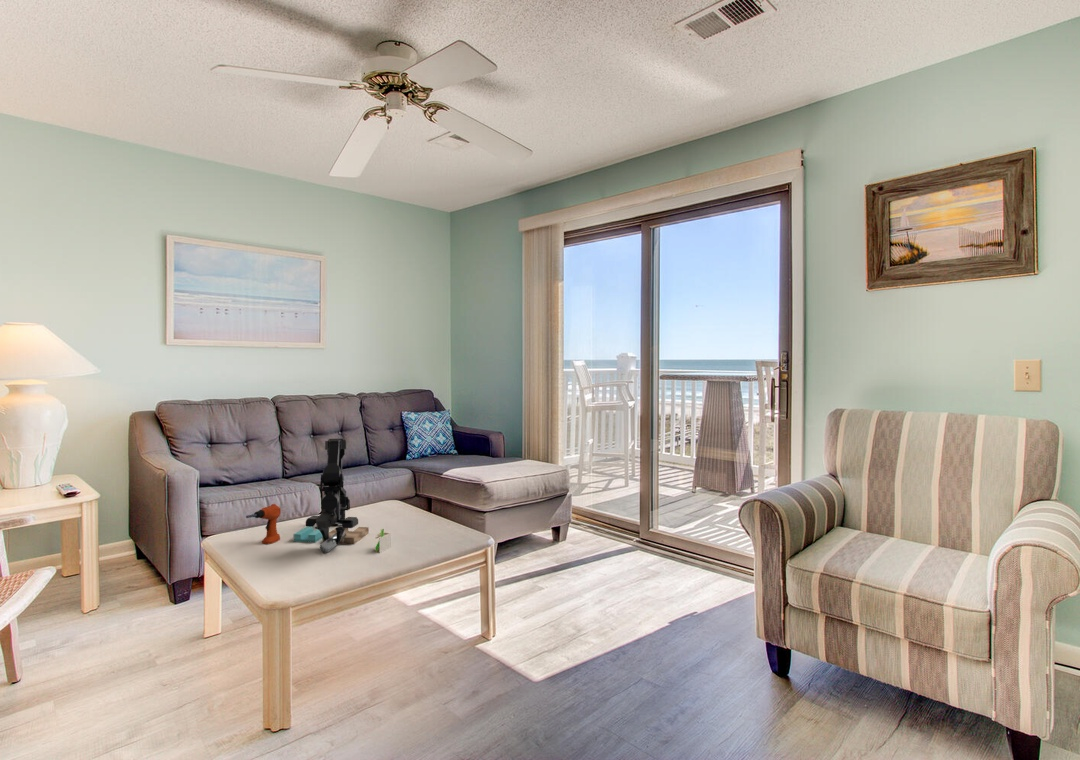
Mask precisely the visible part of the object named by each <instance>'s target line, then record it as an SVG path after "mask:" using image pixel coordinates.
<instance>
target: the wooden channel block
mask: <svg viewBox="0 0 1080 760" xmlns="http://www.w3.org/2000/svg"><path fill="white" fill-rule="evenodd" d="M369 529H370V528H369V526H359V527H357V528H355V529H354V530H353V531H351V530H350V531H349V528H345V530H344V531H345V532H346V537H344V539H343V540H342V541H341V542H340V543H339V544H341V545H342V544H343V545H355V544H356V543H358V542H359V541H360V540H362V539H363V538H364V537H366V536H367V535H368V534H370V533H369ZM336 532H337V531H336V529H335V528H334V529H332V530H331V531H329V538H330V537H331V536H332V535H333V534H335V533H336ZM323 542H324V538H322V543H323ZM339 544H338V545H339Z"/></svg>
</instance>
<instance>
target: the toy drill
mask: <svg viewBox="0 0 1080 760" xmlns="http://www.w3.org/2000/svg"><path fill="white" fill-rule="evenodd" d="M281 511H282V509H281V507H280V506H279V505H277V504H276V503H273V504H271V505H268V506H264V507H263V508H261V509H259V510H257V511H255V512H254V513H252V514H247V515H246V516H245V518H246V519H249V518H255V519H263V520H267V522H266V526H265V530H266V533H265V534H266V535H265V537H263V539H262V540H261V544H263V545H271V544H274V543H277V542H278V541H280V540H281V536H280V533H278V530H277V521H278V520H277V519H279V517H280V516H281Z"/></svg>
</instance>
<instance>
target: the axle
mask: <svg viewBox="0 0 1080 760" xmlns="http://www.w3.org/2000/svg"><path fill="white" fill-rule="evenodd" d="M336 536H337V532H336V533H335V534H333V535H332V536H331V537H330V538H328V539H327V540H326V541H324V542H323V541H322V542H321V544H320V545H319V551H320V552H321V553H323V554H327V553H329V552H331V550H333V549H334V548H335V547H336V546H337V545H338V544H337V543H336ZM344 537H346V532H345V531H344V532H343V534H342V537H341V539H340V542H341V541H342V540H343V539H344ZM340 542H339V543H340Z"/></svg>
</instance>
